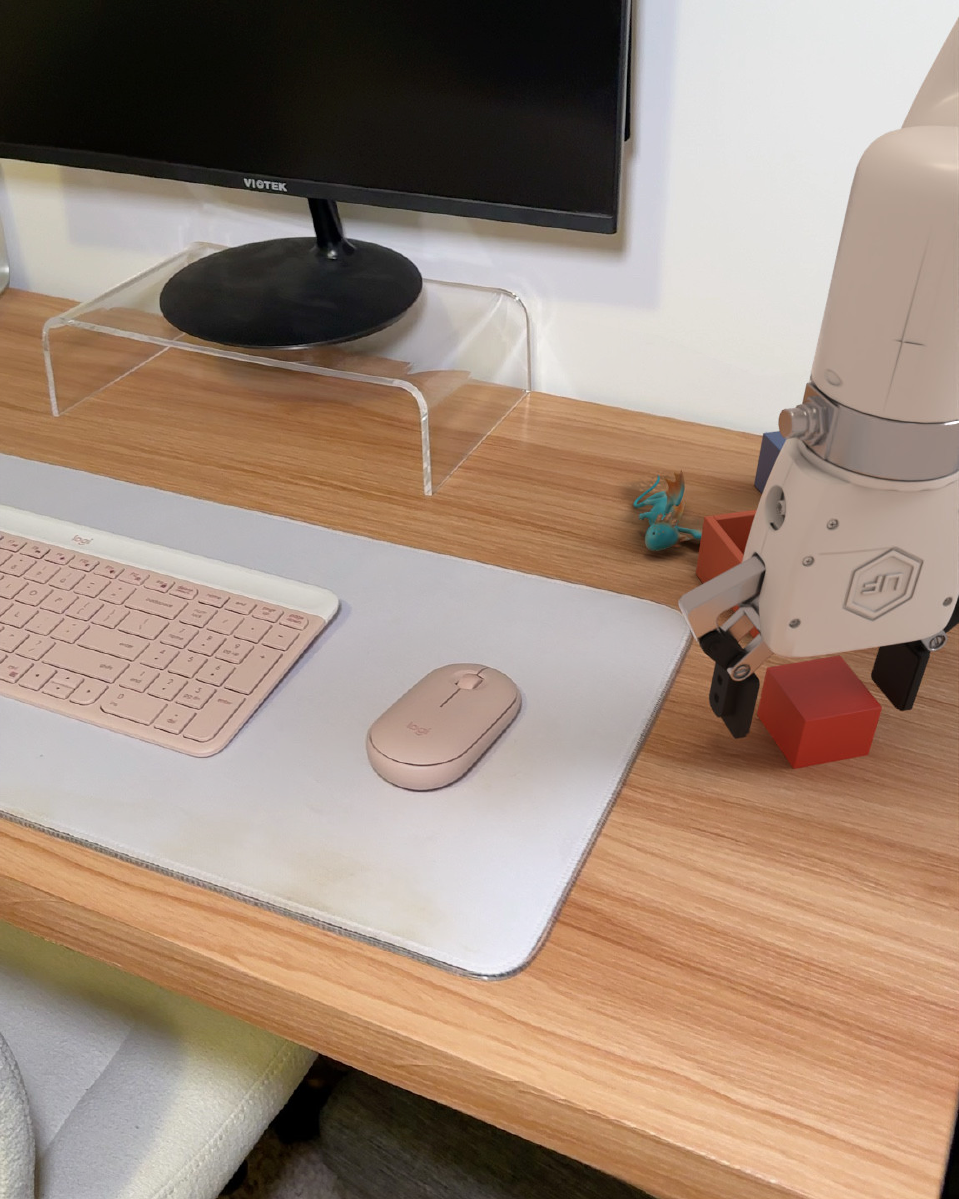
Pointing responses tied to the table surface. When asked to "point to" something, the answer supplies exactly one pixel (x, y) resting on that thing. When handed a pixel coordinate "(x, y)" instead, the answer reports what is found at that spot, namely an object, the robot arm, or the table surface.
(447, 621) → the table surface
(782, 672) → the red block
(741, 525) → the red bin
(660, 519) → the dragon figurine
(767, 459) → the blue block
